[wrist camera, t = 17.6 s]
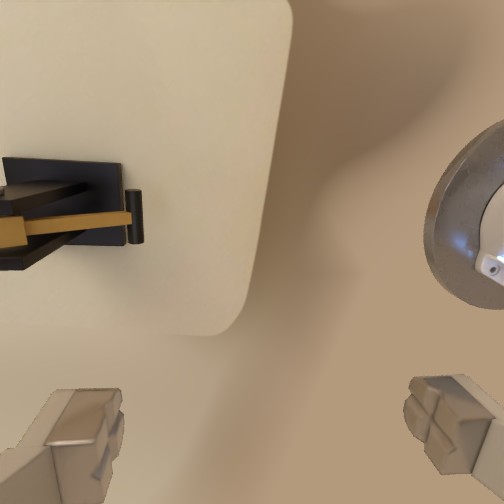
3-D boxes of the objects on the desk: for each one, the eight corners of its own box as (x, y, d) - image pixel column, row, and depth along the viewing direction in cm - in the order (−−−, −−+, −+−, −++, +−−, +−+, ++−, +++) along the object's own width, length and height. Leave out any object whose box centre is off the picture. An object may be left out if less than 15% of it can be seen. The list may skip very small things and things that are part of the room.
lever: (135, 188, 30) (146, 191, 28) (138, 238, 31) (148, 244, 29) (-35, 193, 22) (-34, 198, 20) (-20, 260, 23) (-18, 270, 21)
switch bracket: (120, 163, 33) (60, 171, 20) (126, 243, 36) (76, 296, 23) (9, 156, 32) (-134, 161, 19) (23, 241, 34) (-92, 296, 21)
